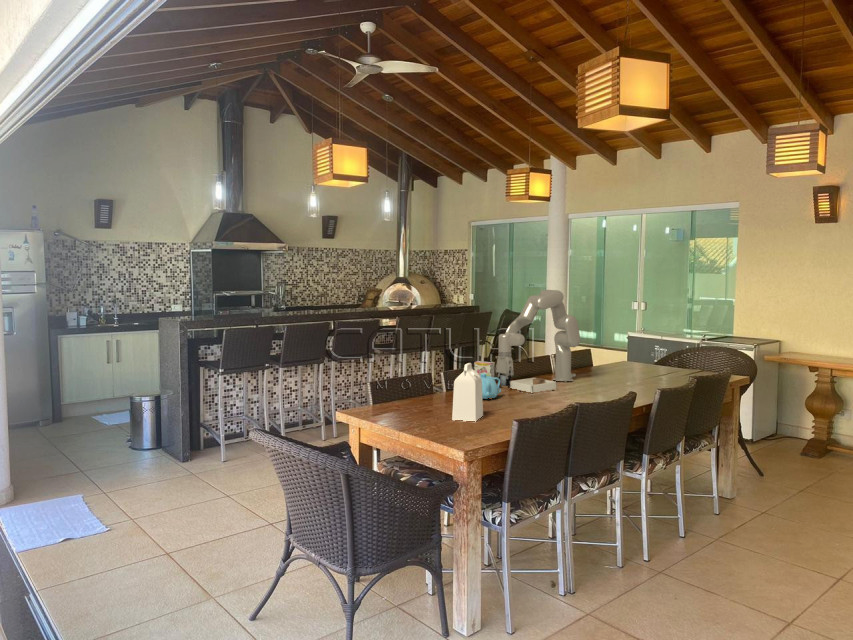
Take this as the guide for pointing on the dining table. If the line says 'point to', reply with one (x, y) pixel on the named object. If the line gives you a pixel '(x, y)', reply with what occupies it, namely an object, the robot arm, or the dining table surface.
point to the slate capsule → (503, 380)
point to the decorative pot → (489, 386)
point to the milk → (467, 396)
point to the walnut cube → (538, 381)
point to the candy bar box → (484, 368)
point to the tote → (529, 387)
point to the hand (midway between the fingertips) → (504, 384)
